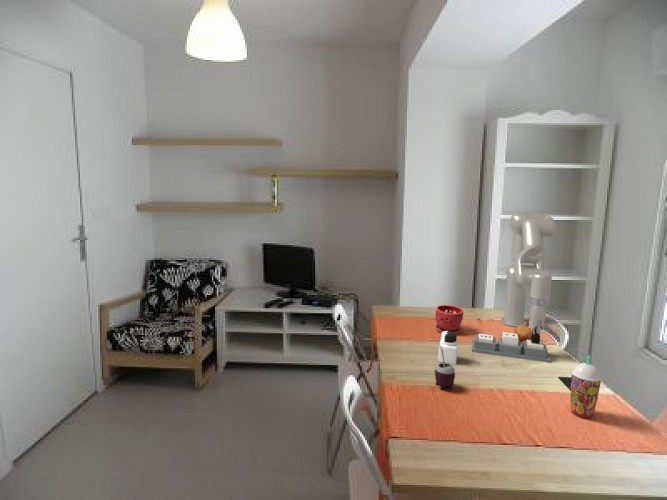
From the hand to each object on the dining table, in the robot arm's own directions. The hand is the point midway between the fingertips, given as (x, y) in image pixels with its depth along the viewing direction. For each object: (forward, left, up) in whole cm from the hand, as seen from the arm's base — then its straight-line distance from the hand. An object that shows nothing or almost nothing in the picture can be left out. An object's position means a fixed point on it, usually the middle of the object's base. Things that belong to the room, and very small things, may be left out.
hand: (535, 342), depth 179 cm
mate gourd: (+42, -35, -6) cm, 55 cm away
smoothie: (+45, +9, -6) cm, 46 cm away
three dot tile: (0, -20, -4) cm, 20 cm away
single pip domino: (0, 0, -4) cm, 4 cm away
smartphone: (+26, +11, -7) cm, 29 cm away
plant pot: (-16, -37, -6) cm, 41 cm away
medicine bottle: (+18, -35, -6) cm, 40 cm away
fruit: (-17, -3, -6) cm, 18 cm away
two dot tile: (0, -10, -2) cm, 10 cm away
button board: (0, -10, -6) cm, 12 cm away
